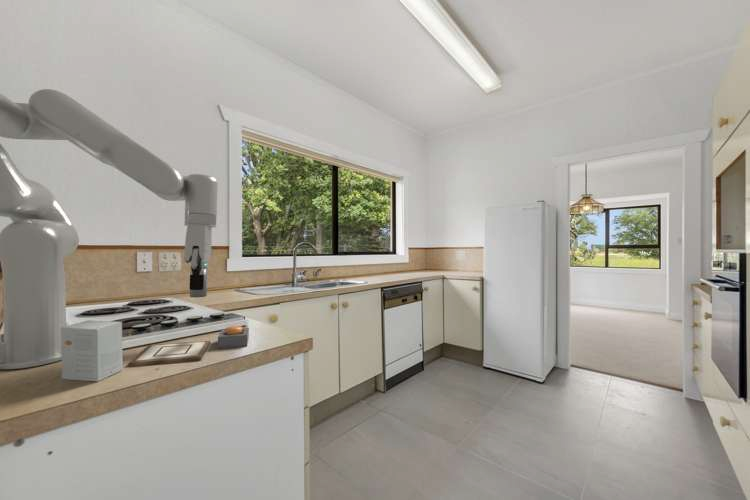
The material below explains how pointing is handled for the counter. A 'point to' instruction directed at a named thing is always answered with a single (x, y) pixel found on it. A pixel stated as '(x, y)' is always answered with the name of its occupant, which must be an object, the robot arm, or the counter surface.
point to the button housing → (233, 339)
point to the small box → (91, 350)
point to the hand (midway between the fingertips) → (198, 287)
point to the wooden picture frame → (171, 353)
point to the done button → (234, 330)
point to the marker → (204, 291)
